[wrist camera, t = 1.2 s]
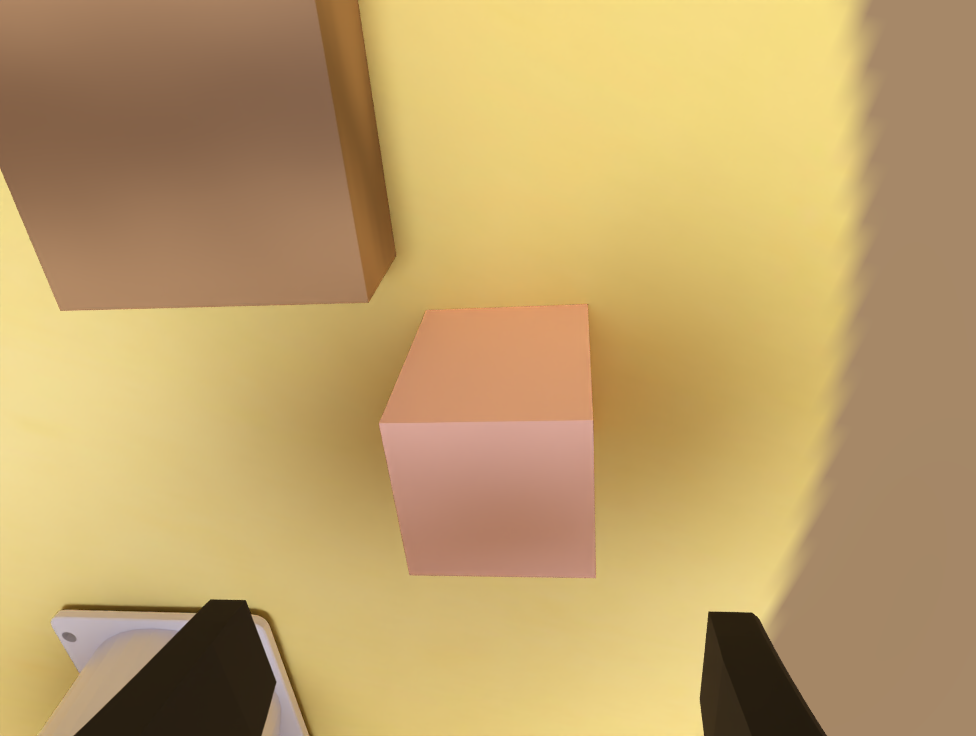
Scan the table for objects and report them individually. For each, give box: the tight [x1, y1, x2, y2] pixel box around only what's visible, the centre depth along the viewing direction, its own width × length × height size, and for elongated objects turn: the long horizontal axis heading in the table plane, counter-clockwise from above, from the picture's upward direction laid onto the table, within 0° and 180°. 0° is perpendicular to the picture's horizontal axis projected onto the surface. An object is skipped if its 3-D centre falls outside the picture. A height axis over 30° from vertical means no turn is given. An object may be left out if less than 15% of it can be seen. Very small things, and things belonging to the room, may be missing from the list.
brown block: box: [0, 0, 396, 311], centre depth 14 cm, size 7×7×3 cm
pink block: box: [379, 304, 596, 578], centre depth 16 cm, size 4×4×5 cm
